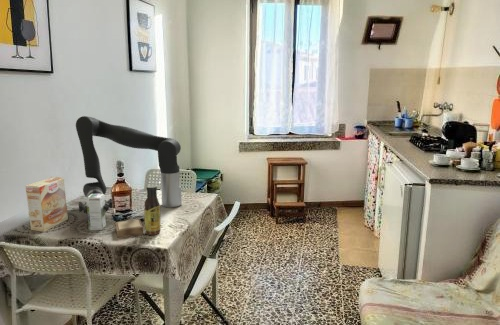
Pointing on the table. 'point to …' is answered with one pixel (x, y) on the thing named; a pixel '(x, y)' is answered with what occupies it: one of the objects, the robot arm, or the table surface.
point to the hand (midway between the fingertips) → (96, 210)
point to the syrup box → (96, 211)
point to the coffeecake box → (46, 203)
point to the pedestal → (129, 228)
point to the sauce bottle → (152, 211)
